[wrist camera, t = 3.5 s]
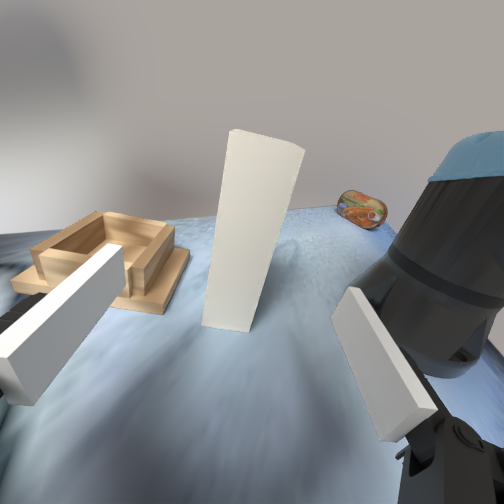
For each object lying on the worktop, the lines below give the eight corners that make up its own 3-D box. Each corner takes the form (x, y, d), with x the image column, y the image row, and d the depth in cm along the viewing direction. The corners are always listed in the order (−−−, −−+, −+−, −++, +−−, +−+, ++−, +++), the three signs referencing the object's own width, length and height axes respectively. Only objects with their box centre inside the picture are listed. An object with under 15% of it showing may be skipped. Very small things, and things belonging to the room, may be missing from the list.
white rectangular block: (249, 294, 29) (291, 142, 20) (248, 333, 23) (305, 149, 15) (210, 288, 28) (235, 128, 19) (200, 325, 23) (229, 131, 14)
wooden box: (189, 258, 33) (191, 227, 30) (162, 315, 23) (163, 276, 21) (87, 240, 31) (81, 206, 29) (15, 292, 22) (-4, 248, 19)
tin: (332, 211, 71) (343, 185, 67) (339, 212, 73) (350, 186, 69) (372, 234, 61) (388, 204, 57) (379, 233, 62) (395, 205, 58)
